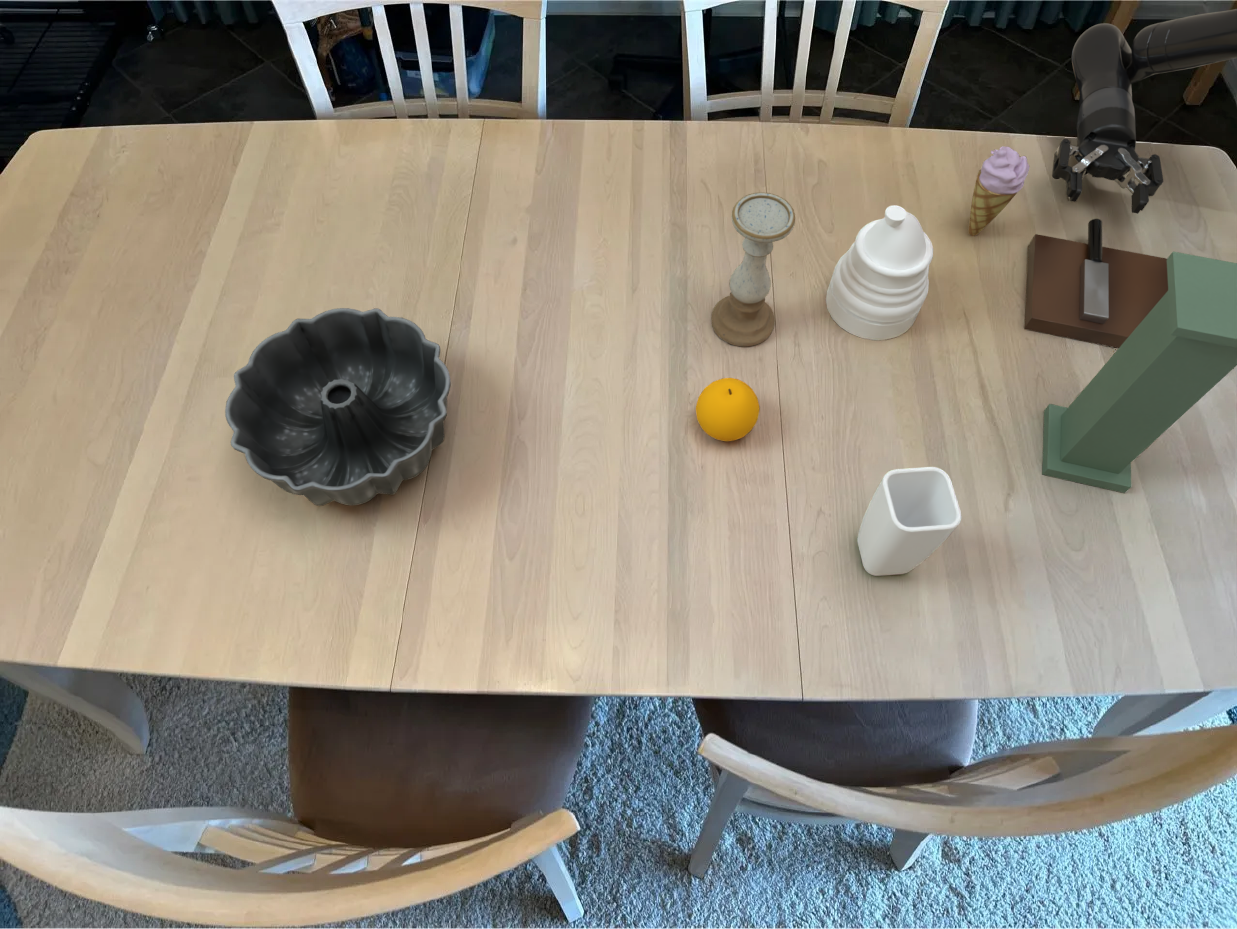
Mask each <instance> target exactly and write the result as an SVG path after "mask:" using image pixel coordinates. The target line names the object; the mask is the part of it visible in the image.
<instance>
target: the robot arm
mask: <svg viewBox="0 0 1237 929" xmlns="http://www.w3.org/2000/svg"><path fill="white" fill-rule="evenodd" d="M1075 41H1076V42H1075V43H1074V46H1073V48H1072V52H1071V63H1072V69H1073V73H1074V77H1075V81H1076V85H1077V89H1078V93H1079V98H1078V115H1077V121H1076V138H1077V139H1076V143H1077V144H1076V145H1071V140H1070V139H1068V138H1063V139H1062V140H1061V142H1060V143H1059V145H1058V147H1057V148H1056V150H1055V152H1054V155H1053V156H1054V157H1053V163H1052V173H1051V178H1052V179H1054V180H1060V179H1062V180H1063V181H1064V183H1065V195H1066V197H1067V198H1069V202H1071V203H1076V202H1077V201H1078V199H1079V197H1080V196H1081V194H1082V192H1083V179H1084V178H1085V177H1087V176H1088V175H1091V177H1092V178H1097V179H1105V180H1109V181H1114V182H1115V183H1116V184H1118V186H1119V187H1120V188H1122V189H1127V190H1128V191H1129V193H1130V194H1131V195H1130V198H1131V200H1130V201H1131V213H1132V214H1139V213H1140V212H1141V211H1143V210H1144V209H1145V207H1147V205H1148V204H1149V202H1150V197H1153V196H1155V194H1156V192H1157V191H1158V189H1159V188H1160V186H1162V185H1163V183H1164V176H1163V169H1162V164H1161V157H1160V156H1159V155H1158V154H1156V153H1153V154H1151V155H1150V157H1149V158H1147V157H1140V156H1139V154H1138V153H1137V151H1136V147H1137V146H1136V145H1137V134H1136V133H1137V131H1136V113H1135V111H1136V110H1135V106H1134V103H1133V92H1132V91H1133V90H1132V85H1133V84H1135V83H1137V82H1139V81H1142V80H1144V79H1147V78H1149V77H1151V76H1154V75H1158V74H1164V73H1171V72H1176V71H1183V70H1188V69H1194V68H1198V67H1202V66H1206V65H1207V66H1208V65H1211V64H1215V63H1220V62H1225V61H1228V60H1229V61H1230V60H1233V59H1237V8H1235V9H1234V8H1233V9H1229V10H1222V11H1214V12H1208V13H1207V12H1206V13H1200V14H1195V15H1188V16H1184V17H1180V18H1175V19H1171V20H1170V19H1169V20H1166V21H1161V22H1157V23H1154V24H1150V25H1148V26H1145V27H1144V28H1142V29H1141V30H1140V31H1139V32H1137V34H1136V36H1134V39H1133V42H1132V45H1131V47H1130V45H1129V43H1128V42H1127V40H1126V38H1125V36H1124V34H1123V33H1122V31H1121V30H1120V28H1119V27H1118V26H1116V25H1114V24H1112V23H1106V22H1105V23H1104V22H1103V23H1098V24H1095V25H1093V26H1091V27H1089V28H1088V29H1086V30H1085V31H1084V32H1083V33H1082V34H1080V36H1079V37H1078V38H1077V40H1075ZM1073 156H1074V159H1075V161H1076V162H1077V163H1076V164H1074V165H1073V166H1070V165H1069V160H1070V159H1071V157H1073ZM1126 174H1127V176H1126V177H1125V175H1126ZM1135 181H1136V182H1137V184H1136V183H1135Z"/></svg>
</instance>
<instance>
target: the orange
mask: <svg viewBox="0 0 1237 929" xmlns="http://www.w3.org/2000/svg"><path fill="white" fill-rule="evenodd" d="M760 409H761V408H760V403H759V399H758V396H757V394H756V393H755V391H754V390H753V388H752V387H751V386H750V385H749V384H747V383H746V382H745V381H743V380H740V379H738V378H734V377H724V378H719V379H717V380H714V381H712V382H711V383H709V384H708V385H707V386H705V387H704V388H703V389H702V391H701V393H700V394H699V396H698V397H697V401H696V405H695V414H696V419H697V422H698V424H699V426H700V428H701V429H702V431H703V432H704V433H706V435H708V436H709V437H711V438H712V439H715V440H716V441H717V440H718V441H721V442H734V441H737V440H739V439H743V438H744V437H745V436H747V435H748V434H749V433H750V432H751V431H752V430H753V429H754V427H755V426H756V424H757V423H758V420H759V416H760V415H759V414H760V411H761V410H760Z"/></svg>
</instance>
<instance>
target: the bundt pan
mask: <svg viewBox="0 0 1237 929" xmlns="http://www.w3.org/2000/svg"><path fill="white" fill-rule="evenodd" d="M440 357H441V346H440V344H439V343H437V342H435V341H431V340H428V339H427V338H426V335H425V332H424V331H423V330H422V328H421V327H419V325H418V324H416V323H415V322H413V321H411V320H410V319H407V318H404V317H400V316H388V315H387V314H386V313H385V312H384V311H382V310H381V309H380V308H379V307H375V308H371V309H369V310H365V311H361V310H358V309H355V308H350V307H339V308H338V307H337V308H332V309H328V310H325V311H322V312H320V313H318V314H316V315H315V316H313V317H312V318H296V319H294V320H293V321H292V322H291V323H290V324H289V326H288V327H287V328H286V329H285V330H282V331H278V332H275V333H273V334H272V335H269V336H268V337H266V338H265V339H264V340H262V341H260V342H259V344H257V346H256V347H255V348H254V349H253V351H252V352H251V355H250V356H249V359H248V362H247V364H246V365H244V366H243V367H241V368H239V369H238V370H236V371H235V372H234V374H233V380H234V385H235V387H234V388H232V391H231V392H230V394H229V396H228V397H227V400H226V403H225V408H224V416H225V419H226V422H227V424H228V426H229V427H230V429H231V430H232V431H233V433H232V436H231V440H230V446H231V447H232V448H233V449H234V451H237V452H240V453H242V454H244V457H245V460H246V463H247V464H248V465H249V467H250V468H251V469H252V471H253V472H254V473H255V474H257V475H258V476H260V477H261V478H263V479H265V480H267V481H271V482H272V483H273V484H275V485H276V486H277V487H279V488H280V489H281V490H282V491H285V492H286V493H289V494H292V495H296V496H304V497H305V498H306V499H307V500H308V501H310V502H311V503H312V504H313V505H315V506H318V507H322V506H325V505H327V504H330V503H331V502H336V503H338V504H340V505H341V504H342V505H346V506H359V505H363V504H365V503H368V502H369V501H371V500H372V499H374V498H375V497H376V496H377V495H378V494H382V495H383V494H384V495H391V496H392V495H395V494H396V493H397V491H398V490H399V487H400V486H401V485H402V482H403V481H406V480H411V479H414V478H415V477H417V476H419V475H420V474H422V473H423V471H424V470H425V469H426V468H427V467H428V465H429V462H430V460H431V456H432V452H433V450H435V449H436V448H438V447H439V446H441V445H442V444H443V442H444V441H445V420H446V418H447V416H448V396H449V393H450V390H451V384H452V383H451V382H452V381H451V375H450V371H449V369H448V367H447V366H446V364H445V363H444V362H443V361H442V360H441V359H440Z"/></svg>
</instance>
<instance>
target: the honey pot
mask: <svg viewBox="0 0 1237 929" xmlns="http://www.w3.org/2000/svg"><path fill="white" fill-rule="evenodd" d="M933 259H934V247H933V243H932V240H931V239H930V238H929V236H928V235H927V233H926V232H925V231H924V229H923V227H922V225H921V223H920V221H919V219H918V218H917V217H916V216H915V215H914V214H912V213H911V212H908V211H907V210H906V209H905V208H904V207H902V206H900V205H896V204H895V205H894V204H891V205H889V206H887V207H886V209H885V211H884V217H883V218H879V219H876V220H872V221H871V222H868V223H866V224H864V226H862V228H860V230H859V231H858V232H857V234H856V236H855V241H854V242H853V243H852V244H851V246H850V247H849V248H848V249H847V250H846V252H845V253H844V254H843V255H841V257H839V259H838V261H837V263H836V264H835V266H834V268H833V272H832V276H831V277H830V282H829V284H828V287H827V291H826V296H825V305H826V309H827V311H828V314H829V315H830V317H831V319H832V321H834V322H835V323H836V324H837V326H839V327H840V328H841V329H842V330H844V331H845V332H847V333H848V334H851V335H853V336H856V337H858V338H861V339H865V340H871V341H886V340H890V339H894V338H898V337H900V336H901V335H903V334H905V333H907V331H909V330H910V328H912V326H913V325H914V324H915V321H916V320H917V317H918V315H919V313H920V312H921V309H922V307H923V305H924V302H925V301H926V298H927V296H928V293H929V286H930V284H929V283H930V281H929V280H930V279H929V271H930V265H931V262H932V261H933Z"/></svg>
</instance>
